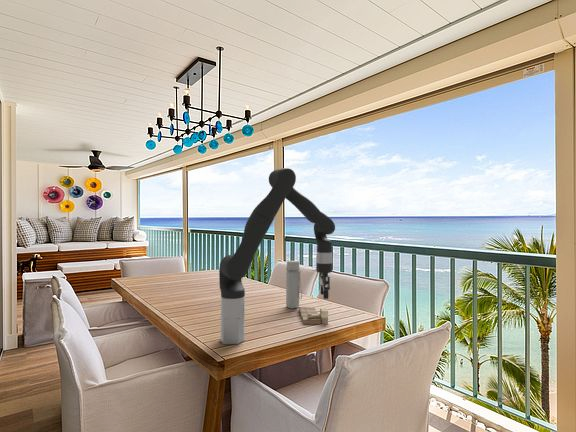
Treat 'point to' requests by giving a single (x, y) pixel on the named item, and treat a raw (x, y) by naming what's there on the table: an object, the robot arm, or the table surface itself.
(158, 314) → the table surface
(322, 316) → the gauge
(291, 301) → the water bottle
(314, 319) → the plank
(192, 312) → the table surface
